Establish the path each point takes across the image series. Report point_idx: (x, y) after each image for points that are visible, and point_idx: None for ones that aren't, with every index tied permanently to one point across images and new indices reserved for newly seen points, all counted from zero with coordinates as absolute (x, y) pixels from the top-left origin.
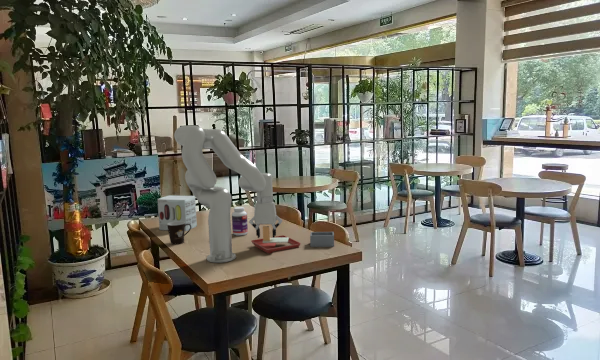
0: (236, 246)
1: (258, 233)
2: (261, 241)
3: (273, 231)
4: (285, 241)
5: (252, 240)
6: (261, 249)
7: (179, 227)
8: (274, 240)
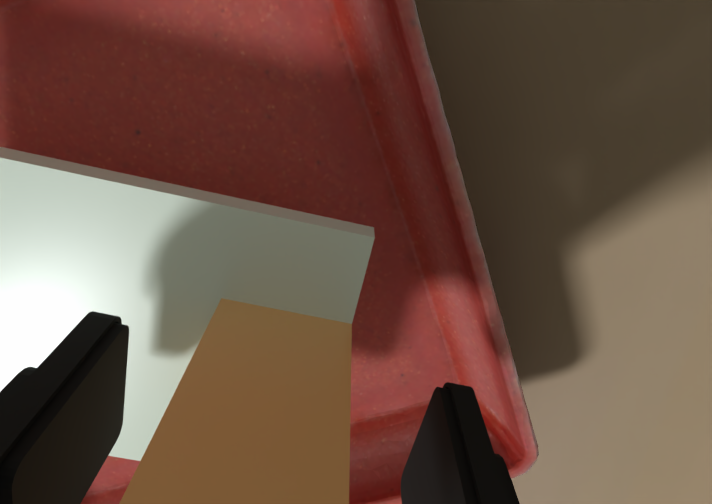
0: (701, 435)
1: (471, 457)
2: (362, 466)
3: (7, 414)
4: None
5: (511, 468)
6: (399, 162)
7: None
8: (117, 275)
